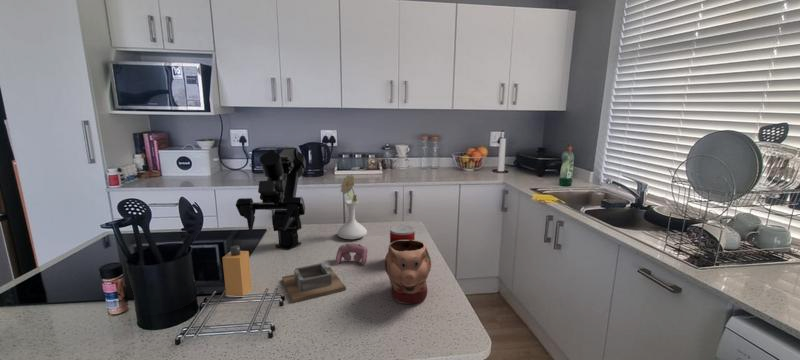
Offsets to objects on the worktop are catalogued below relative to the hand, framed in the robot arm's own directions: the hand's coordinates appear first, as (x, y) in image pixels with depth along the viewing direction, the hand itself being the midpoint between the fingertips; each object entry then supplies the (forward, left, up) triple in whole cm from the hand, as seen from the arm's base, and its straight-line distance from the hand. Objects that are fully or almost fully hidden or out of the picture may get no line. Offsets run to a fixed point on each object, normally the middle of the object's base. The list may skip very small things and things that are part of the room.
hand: (266, 230), depth 101 cm
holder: (+13, +3, -14) cm, 20 cm away
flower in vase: (0, +39, -15) cm, 42 cm away
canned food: (+27, +29, -15) cm, 43 cm away
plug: (-1, -10, -15) cm, 18 cm away
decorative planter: (+38, +13, -15) cm, 43 cm away
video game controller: (+13, +21, -15) cm, 29 cm away
